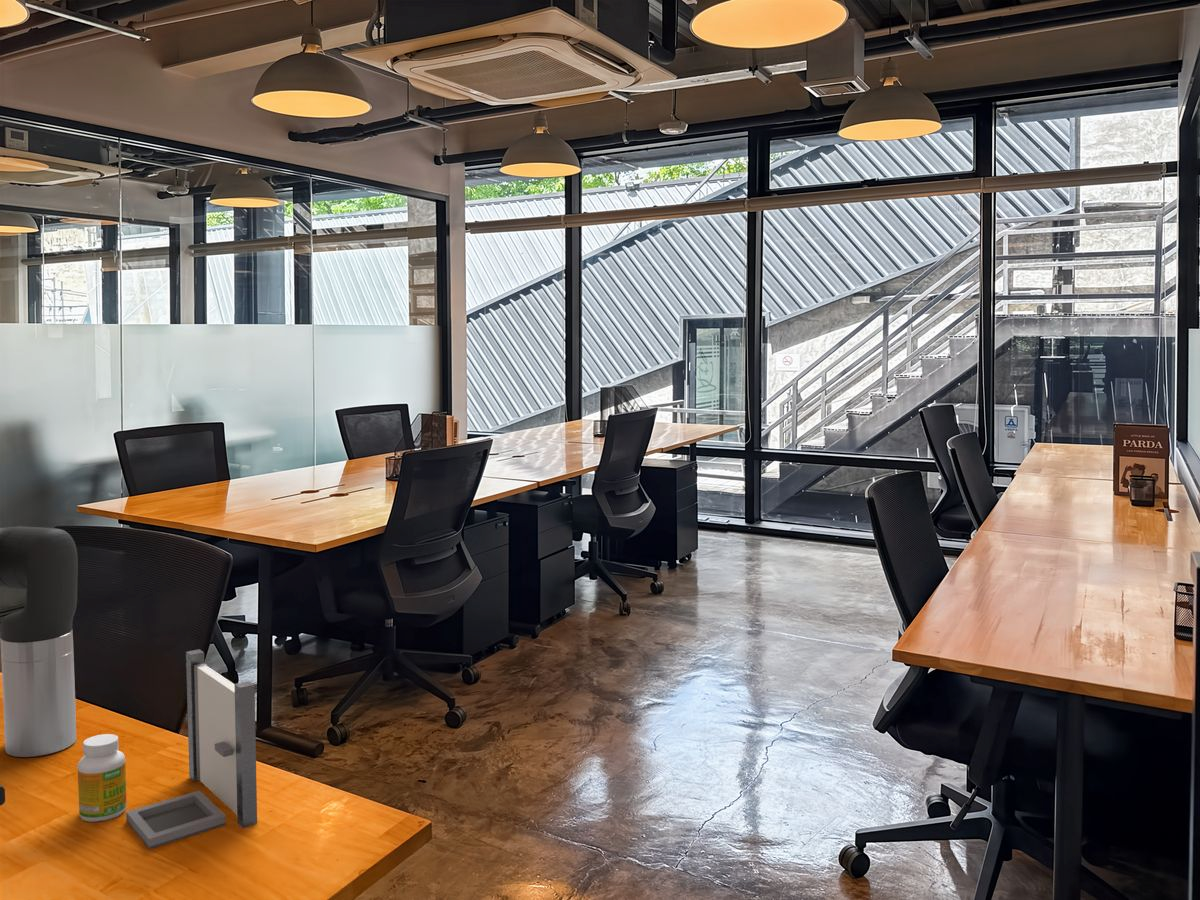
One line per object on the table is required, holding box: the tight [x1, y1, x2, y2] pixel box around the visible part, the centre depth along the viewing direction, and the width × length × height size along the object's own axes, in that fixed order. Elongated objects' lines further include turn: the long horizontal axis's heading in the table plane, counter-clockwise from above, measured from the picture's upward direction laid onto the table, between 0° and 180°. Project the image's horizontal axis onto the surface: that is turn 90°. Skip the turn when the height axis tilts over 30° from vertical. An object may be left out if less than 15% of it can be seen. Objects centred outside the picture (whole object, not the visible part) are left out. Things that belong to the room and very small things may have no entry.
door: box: [194, 663, 237, 815], centre depth 122 cm, size 15×3×16 cm, turn 43°
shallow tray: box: [125, 790, 226, 850], centre depth 116 cm, size 9×9×1 cm
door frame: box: [185, 649, 258, 829], centre depth 122 cm, size 19×2×18 cm, turn 43°
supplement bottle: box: [77, 733, 127, 823], centre depth 119 cm, size 5×5×10 cm
